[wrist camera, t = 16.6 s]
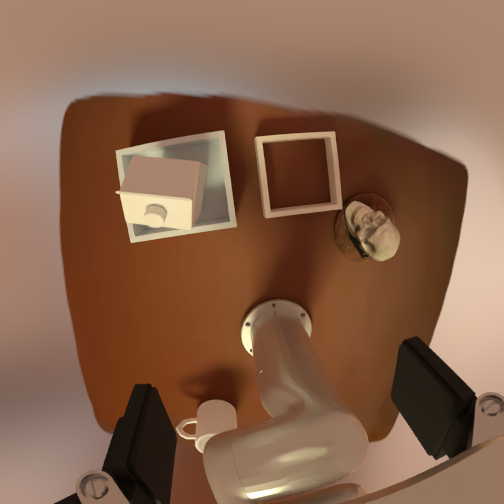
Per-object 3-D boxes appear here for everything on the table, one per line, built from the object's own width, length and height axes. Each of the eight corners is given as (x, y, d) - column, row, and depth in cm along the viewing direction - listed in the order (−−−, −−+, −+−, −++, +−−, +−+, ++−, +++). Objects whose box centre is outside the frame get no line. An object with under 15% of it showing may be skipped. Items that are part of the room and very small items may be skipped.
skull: (316, 225, 47) (369, 204, 39) (338, 195, 53) (384, 174, 45) (354, 280, 50) (405, 268, 42) (370, 245, 56) (415, 231, 48)
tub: (235, 219, 47) (236, 226, 41) (141, 234, 46) (130, 243, 40) (224, 135, 43) (224, 130, 37) (128, 153, 42) (115, 150, 37)
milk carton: (162, 160, 42) (120, 153, 24) (208, 165, 43) (196, 159, 25) (156, 206, 44) (113, 230, 26) (202, 211, 45) (186, 239, 27)
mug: (182, 392, 55) (177, 426, 45) (239, 402, 57) (242, 436, 47) (177, 417, 57) (172, 450, 47) (230, 426, 58) (232, 459, 49)
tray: (335, 206, 48) (342, 208, 45) (263, 215, 47) (265, 218, 44) (328, 133, 44) (334, 131, 41) (253, 139, 44) (255, 136, 41)
